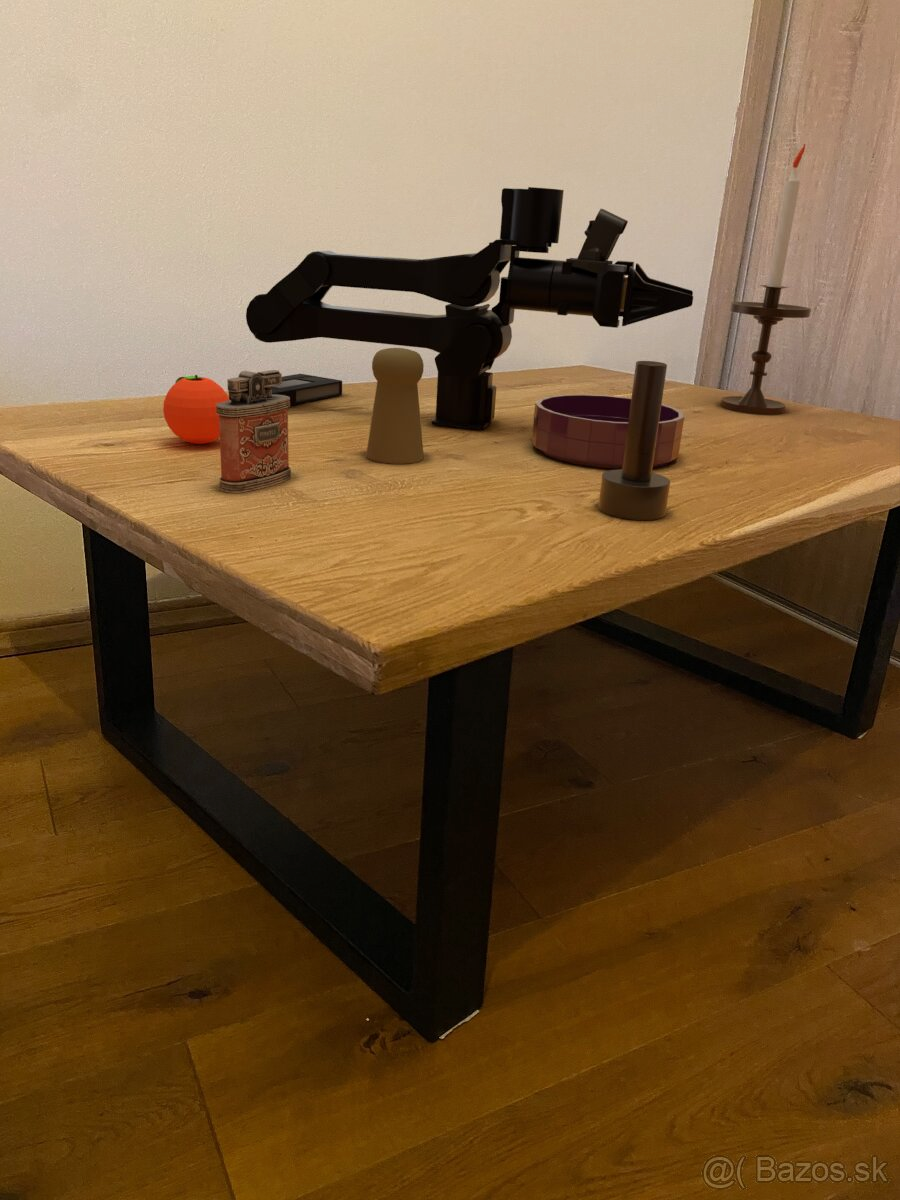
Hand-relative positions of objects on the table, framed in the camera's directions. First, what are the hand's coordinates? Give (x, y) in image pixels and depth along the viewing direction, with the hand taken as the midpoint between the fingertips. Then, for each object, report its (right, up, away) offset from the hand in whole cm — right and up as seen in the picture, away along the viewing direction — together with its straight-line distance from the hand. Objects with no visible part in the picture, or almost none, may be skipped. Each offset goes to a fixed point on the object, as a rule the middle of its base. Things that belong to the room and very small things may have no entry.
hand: (692, 298), depth 103 cm
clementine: (-54, -17, -5) cm, 57 cm away
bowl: (-10, -17, +1) cm, 20 cm away
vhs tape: (-49, -7, +20) cm, 53 cm away
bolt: (-11, -26, -20) cm, 34 cm away
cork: (-33, -19, -6) cm, 38 cm away
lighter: (-45, -23, -18) cm, 54 cm away
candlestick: (+17, -6, +33) cm, 37 cm away
